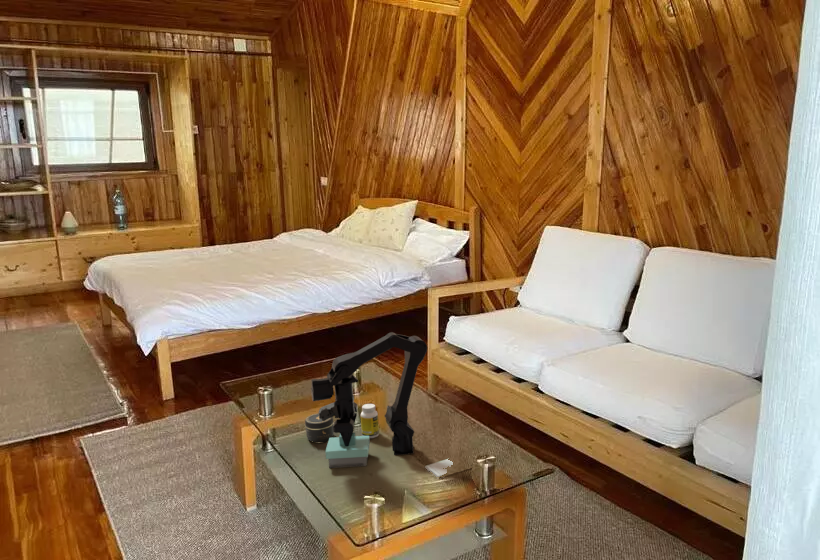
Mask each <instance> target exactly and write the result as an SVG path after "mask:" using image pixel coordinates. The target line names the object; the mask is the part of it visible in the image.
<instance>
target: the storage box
mask: <svg viewBox="0 0 820 560" xmlns="http://www.w3.org/2000/svg"><path fill="white" fill-rule="evenodd" d="M368 458H369V456H368V457H352V458H334V459H328V467H329V469H330V468H331V469H336V468H338V469H339V468H350V467H351V468H352V467H354V468H355V467H356V468H357V467H367V466H368V460H369V459H368Z"/></svg>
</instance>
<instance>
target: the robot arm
mask: <svg viewBox="0 0 820 560" xmlns="http://www.w3.org/2000/svg"><path fill="white" fill-rule="evenodd" d="M393 348H397V349H399V350H402V351H404V364H403V370H402V373H401V375H400V381H399V384H398V388H397V392H396V396H395V400H394V402H393V403H392V405H387V406H386V412H385V414H384V418H385V422H386V424H387V426H388V427H389V429H390V430H391V432H392V433H393V436H391V446H392V447H391V448H392V451H393V455H394V456H399V455H400V456H402V455H403V456H404V455H414V453H415V451H414V450H415V449H414V442H413V441H414V440H413V437H414V434H415V430H414V429H413V428H412V426H411V425H410V423H409V422H408V421H409V420H408V419H409V413H408V406H409V402H410V399H411V395H412V394H411V393H412V391H413V387H414V384H415V379H416V375H417V372H418V367H419V365H421V363H422V361H423V360H424V358H425V356H426V355H427V354H426V353H427V352H428V345H427V343H426V342H425V341H424V340H422V339H421V338H420V337H419V336H417V335H412V336H407V335H405V334H404V335H403V334H398V333H395V332H393V331H391V332H389V333H387V334H386V335H385V336H381V338H379V339H377V340H376V341H374V342H372V343H370V344H368V345H366V346H364V347H362V348H361V349H359V350H357V351H354V352H350V353H346V354H343V355H340V356H337V357H335V358H334V359H333V361H332V364H331V369H330V370H329V371H328V373H327V375H326V377H325V378H314V379H311V387H310V392H311V393H310V394H311V400H312V402H316V401H317V402H318V401H324V400H331V398H333V396H334V397H335V401H334V402H331V403H329V404H326V405H324V406H321V407H320V408H319V410H318V411H317V413H319V415H320V416H319V418H320V419H322V421H325V420H326V419H329V418H331V417H333V418H335V419H336V420H335V421H333V430H334V434H337V433H338V434H339V435H340V434H341V436H342V439H343V442H344V445H345V446H349V443H350V440H351V437H352V434H353V433H354V431H355V423H356V419H357V416H358V403H356V402H355V396H354V390H353V384H354V383H355V384H356V383H359V379H358V378H357V376H355V375H354V374H355V373H356V372H357V370H359V368H360V367H361V366H362V365H364V364H365V363H367V362H368V361H371V360H373V359H374V358H376V357H378V356H380V355H381V354H384V353H385V352H388V351H389V350H391V349H393Z"/></svg>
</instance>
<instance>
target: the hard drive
mask: <svg viewBox="0 0 820 560" xmlns="http://www.w3.org/2000/svg"><path fill="white" fill-rule="evenodd" d="M448 459H449V458H447V459H443V460H440V461H436V462H432V463H430V464H427V465H425V466H424V469H425V468H426V469H427V470H426V469H425V470H426V471H427V472H429V471H430V472H432V473H433V474H434V475H435V476H436V477H440V476H442V475H444V474H446V473H447V469H445V468H447V467H448V466H449V467H451V465H453V462H452V461H450V460H448ZM443 468H444V469H443ZM430 472H429V473H430ZM433 474H432V475H433ZM434 475H433V476H434ZM435 476H434V477H435ZM436 477H435V478H436Z"/></svg>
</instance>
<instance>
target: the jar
mask: <svg viewBox="0 0 820 560" xmlns="http://www.w3.org/2000/svg"><path fill="white" fill-rule="evenodd" d="M319 416H320V415H319V413H318V412H317V413H313V414H310V415H309V416H307V417H305V420H304V427H305V434H306V438H307V440H308V441H309V440H310V441H313V442H323V443H328V441H329V438H333V437H334V434H335V433H334V430H333V426H334V416H333V417H331V418H329V419H326V420H325V421H322V419H320V418H319ZM310 441H309V442H310ZM313 442H312V443H313Z"/></svg>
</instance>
